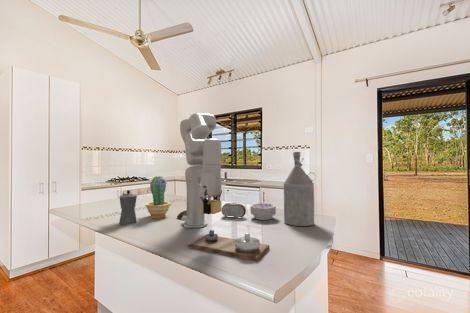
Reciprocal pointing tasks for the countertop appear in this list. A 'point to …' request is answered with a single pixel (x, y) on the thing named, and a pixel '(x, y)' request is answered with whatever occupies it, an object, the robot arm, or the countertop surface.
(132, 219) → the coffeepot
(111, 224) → the countertop surface
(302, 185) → the grey bottle
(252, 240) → the hub
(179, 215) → the bread roll
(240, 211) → the tin
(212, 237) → the round drawer knob
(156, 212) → the potted cactus
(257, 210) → the paper bowls
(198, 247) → the board
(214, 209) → the hollow square block
